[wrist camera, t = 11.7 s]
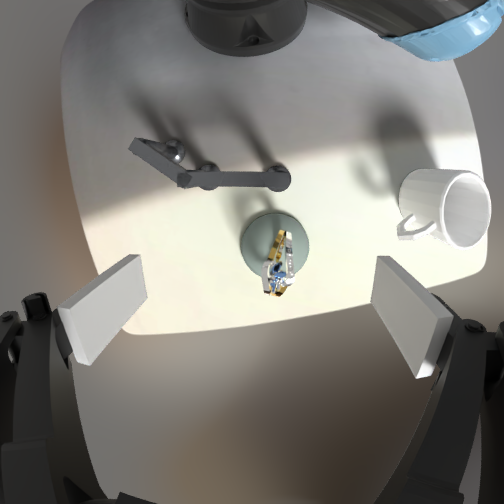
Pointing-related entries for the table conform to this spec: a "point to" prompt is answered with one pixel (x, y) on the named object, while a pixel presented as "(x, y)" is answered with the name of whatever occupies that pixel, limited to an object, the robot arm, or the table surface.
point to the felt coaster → (263, 237)
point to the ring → (278, 266)
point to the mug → (444, 207)
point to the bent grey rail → (204, 169)
